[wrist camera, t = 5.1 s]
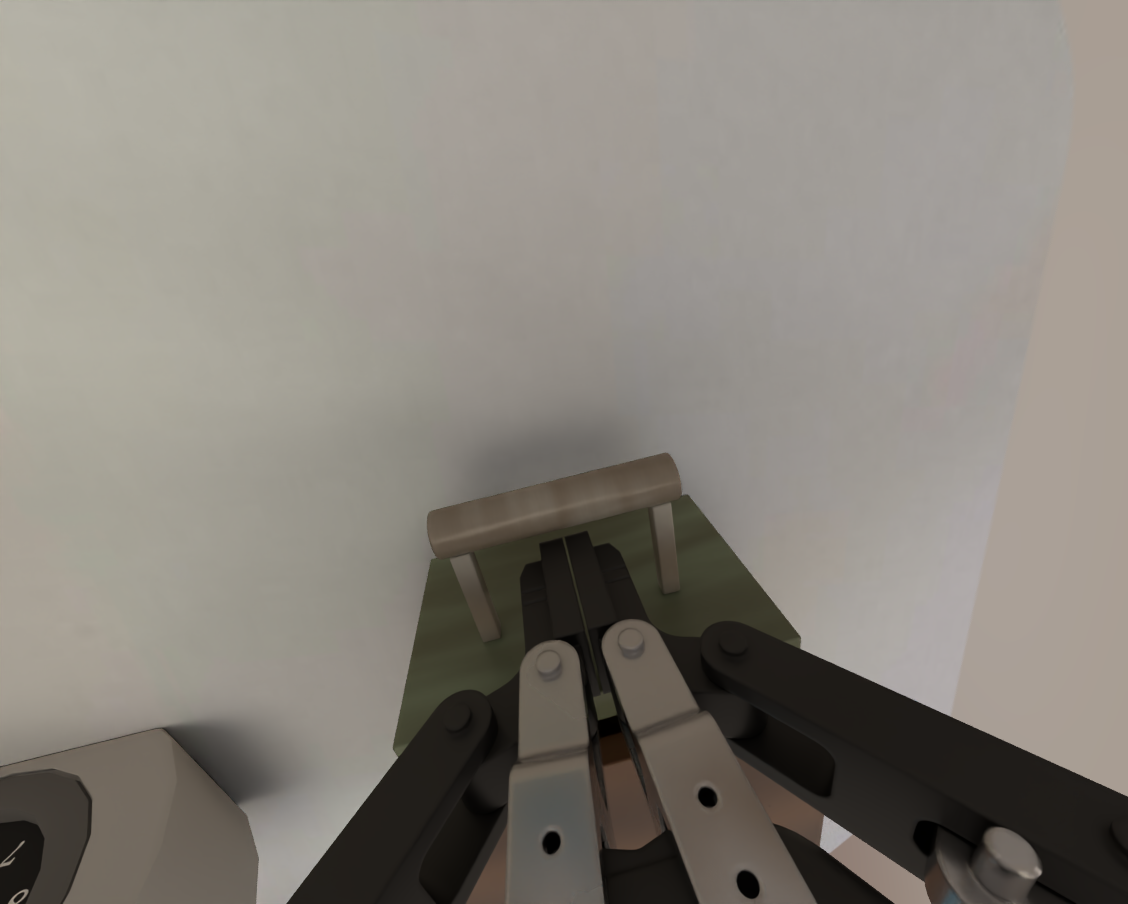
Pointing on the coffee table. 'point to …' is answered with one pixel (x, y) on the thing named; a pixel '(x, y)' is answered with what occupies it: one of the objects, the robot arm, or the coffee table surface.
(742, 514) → the coffee table surface
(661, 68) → the coffee table surface
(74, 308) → the coffee table surface
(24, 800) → the alarm clock
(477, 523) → the drawer
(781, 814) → the cabinet
